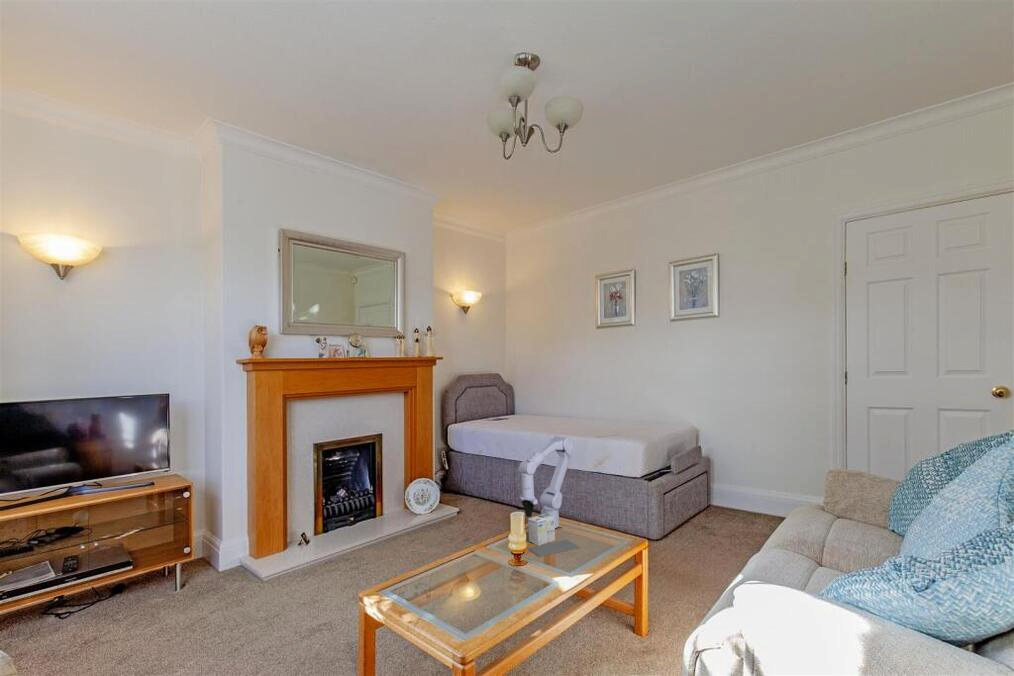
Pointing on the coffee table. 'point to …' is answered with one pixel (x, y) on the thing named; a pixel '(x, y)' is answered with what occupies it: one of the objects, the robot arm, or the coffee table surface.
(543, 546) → the mat
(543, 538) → the light bulb box
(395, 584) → the coffee table surface
